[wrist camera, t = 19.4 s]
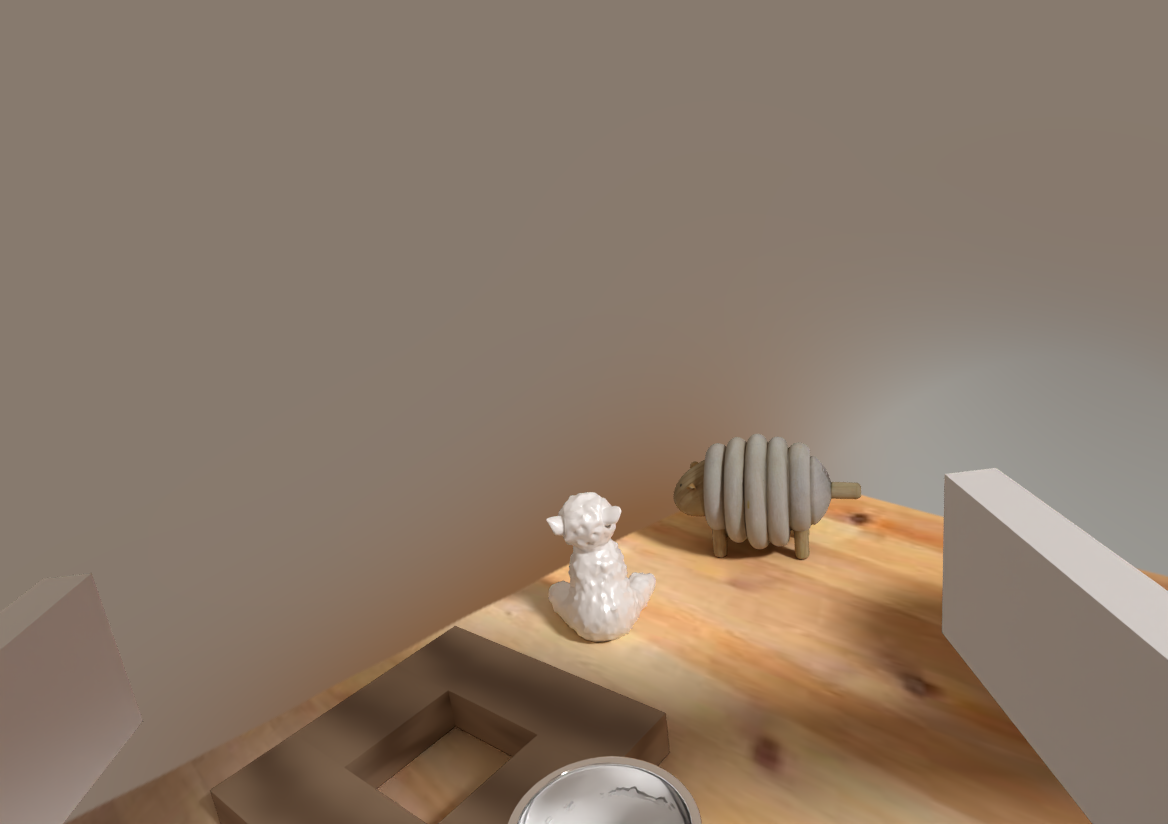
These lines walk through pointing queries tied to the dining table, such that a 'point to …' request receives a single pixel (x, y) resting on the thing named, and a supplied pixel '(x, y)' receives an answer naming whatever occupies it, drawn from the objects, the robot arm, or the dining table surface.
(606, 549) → the seated beast figurine
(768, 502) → the toy sheep
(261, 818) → the pocket board
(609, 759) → the silver tumbler
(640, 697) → the dining table surface
